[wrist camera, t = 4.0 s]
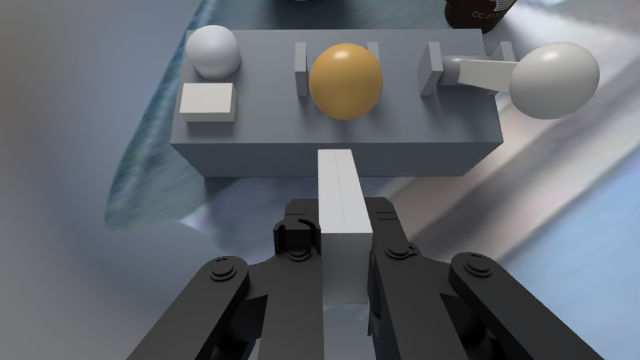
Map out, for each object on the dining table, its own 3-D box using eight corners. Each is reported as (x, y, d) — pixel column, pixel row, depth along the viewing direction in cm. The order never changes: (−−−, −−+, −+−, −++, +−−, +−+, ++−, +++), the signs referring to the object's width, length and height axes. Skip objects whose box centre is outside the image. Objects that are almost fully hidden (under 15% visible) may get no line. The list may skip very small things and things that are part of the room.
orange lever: (358, 46, 26) (393, 41, 14) (356, 92, 28) (387, 127, 15) (313, 46, 26) (306, 42, 14) (313, 93, 28) (308, 127, 15)
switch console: (448, 83, 37) (500, -2, 26) (463, 176, 33) (529, 122, 23) (214, 84, 37) (171, -1, 26) (203, 177, 33) (149, 123, 23)
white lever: (483, 45, 26) (633, 40, 14) (476, 92, 28) (606, 126, 15) (438, 46, 26) (547, 41, 14) (433, 92, 28) (527, 126, 15)
